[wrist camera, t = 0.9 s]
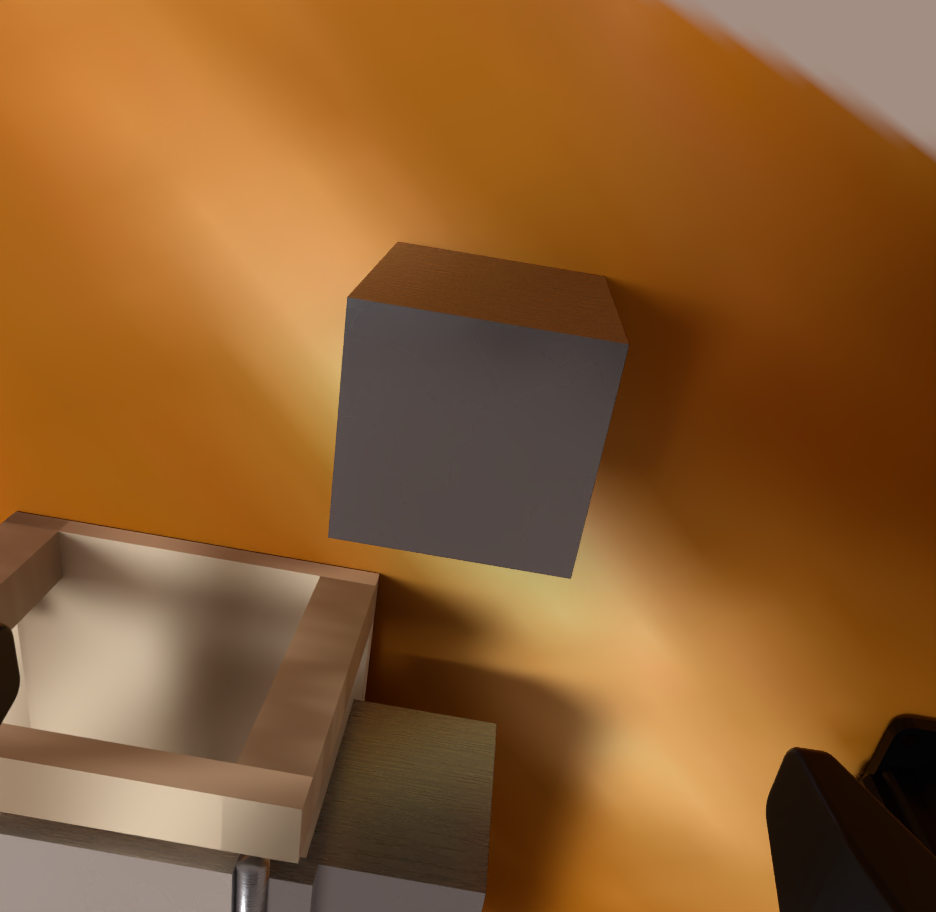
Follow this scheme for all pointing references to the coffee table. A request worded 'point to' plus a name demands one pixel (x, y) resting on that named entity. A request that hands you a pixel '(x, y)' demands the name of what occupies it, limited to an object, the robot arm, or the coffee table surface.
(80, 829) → the trapdoor
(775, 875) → the robot arm
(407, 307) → the block
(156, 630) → the frame
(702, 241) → the coffee table surface
